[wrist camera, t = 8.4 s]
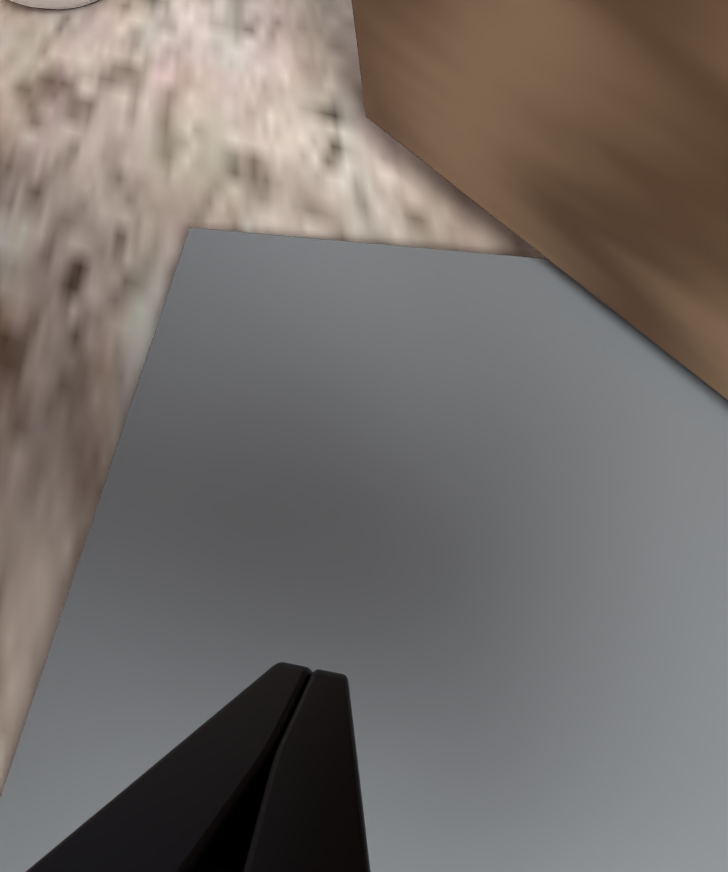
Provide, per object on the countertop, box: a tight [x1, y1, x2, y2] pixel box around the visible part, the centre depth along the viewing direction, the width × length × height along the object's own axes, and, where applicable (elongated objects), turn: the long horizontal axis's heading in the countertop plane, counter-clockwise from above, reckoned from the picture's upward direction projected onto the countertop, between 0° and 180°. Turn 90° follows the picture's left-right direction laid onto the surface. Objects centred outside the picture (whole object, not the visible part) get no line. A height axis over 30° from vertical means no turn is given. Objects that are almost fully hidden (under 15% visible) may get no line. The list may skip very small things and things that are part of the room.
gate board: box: [0, 228, 728, 872], centre depth 13 cm, size 26×18×1 cm
